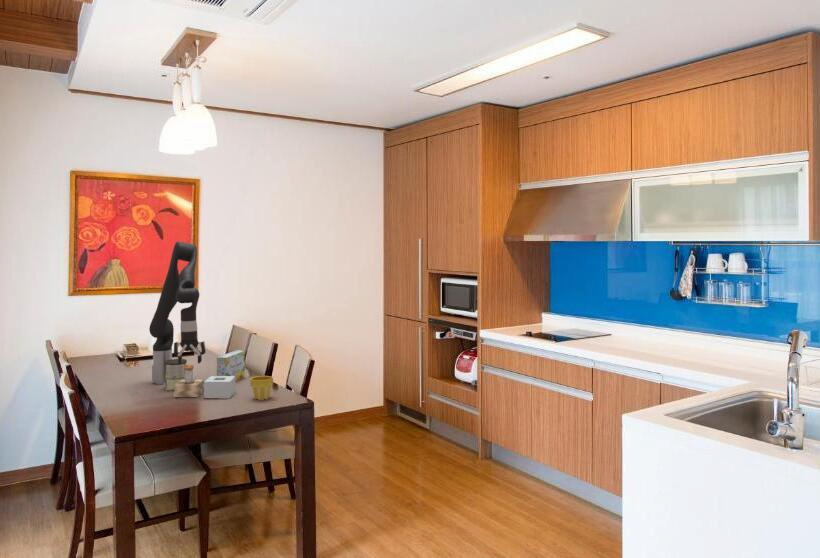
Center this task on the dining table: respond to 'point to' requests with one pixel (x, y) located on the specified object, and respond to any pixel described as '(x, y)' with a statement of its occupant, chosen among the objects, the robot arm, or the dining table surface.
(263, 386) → the plant pot
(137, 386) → the dining table surface
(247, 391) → the dining table surface
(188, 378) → the pin
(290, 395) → the dining table surface
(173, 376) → the coffee can
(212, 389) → the socket
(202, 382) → the mount
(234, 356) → the snack box
